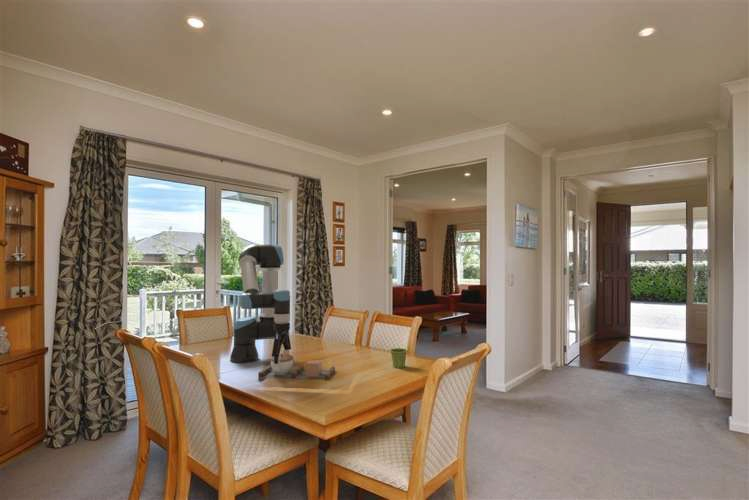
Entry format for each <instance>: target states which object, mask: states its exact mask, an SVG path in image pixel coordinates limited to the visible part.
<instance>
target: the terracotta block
mask: <svg viewBox="0 0 749 500" xmlns="http://www.w3.org/2000/svg"><path fill="white" fill-rule="evenodd" d="M305 370H306V376H319V375H320V374H321V370H322V360H316V359H315V360H313V359H309V360H307V362H306V363H305Z"/></svg>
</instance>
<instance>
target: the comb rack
mask: <svg viewBox="0 0 749 500" xmlns="http://www.w3.org/2000/svg"><path fill="white" fill-rule="evenodd" d="M304 367H305V365H300V366H298V367H297V368H296V369H294V368H293V369H292V368H291V370H290V371H289V372H288V374H285V375H276V374H275V373H274V372H273V370H272V368H271V364H269V365H267V366H266V367H265V368H263V369H262V370H260V371H259V372H258V373H257V376H258V377H257V378H258V379H257V380H258V381H265V380H266V379H271V378H272V379H293V380H294V379H297V380H321V381H322V380H325V381H326V380H327V381H328V380H329V379H330V378H331V376H332V375H333V374H334V372H335V370H336V367H335V366H331V367H330V368H329V369H328V370H324V369H323V370H322V369H321V374H320V375H319V376H306V369H304Z"/></svg>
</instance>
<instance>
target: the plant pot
mask: <svg viewBox="0 0 749 500" xmlns="http://www.w3.org/2000/svg"><path fill="white" fill-rule="evenodd" d="M389 352H390V355H391V361H392V367H393V368H396V369H403V368H406V367H405V366H406V358H407V354H408V352H409V351H408V349H406V348H399V347H398V348H396V347H395V348H391V349H389Z"/></svg>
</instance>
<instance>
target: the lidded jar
mask: <svg viewBox="0 0 749 500" xmlns="http://www.w3.org/2000/svg"><path fill="white" fill-rule="evenodd" d="M279 356H280V370H279V371H275V370H274V357H272V356H271V357H269V358H270V365H271V368H272V370H273V372H274V373H275V374H276V375H285V374H288V372H289V371H290V370H291V369H292V368H293V364H294V362H293V361H294V356H293V355H291V354H289V355H284V353H280V354H279Z"/></svg>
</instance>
